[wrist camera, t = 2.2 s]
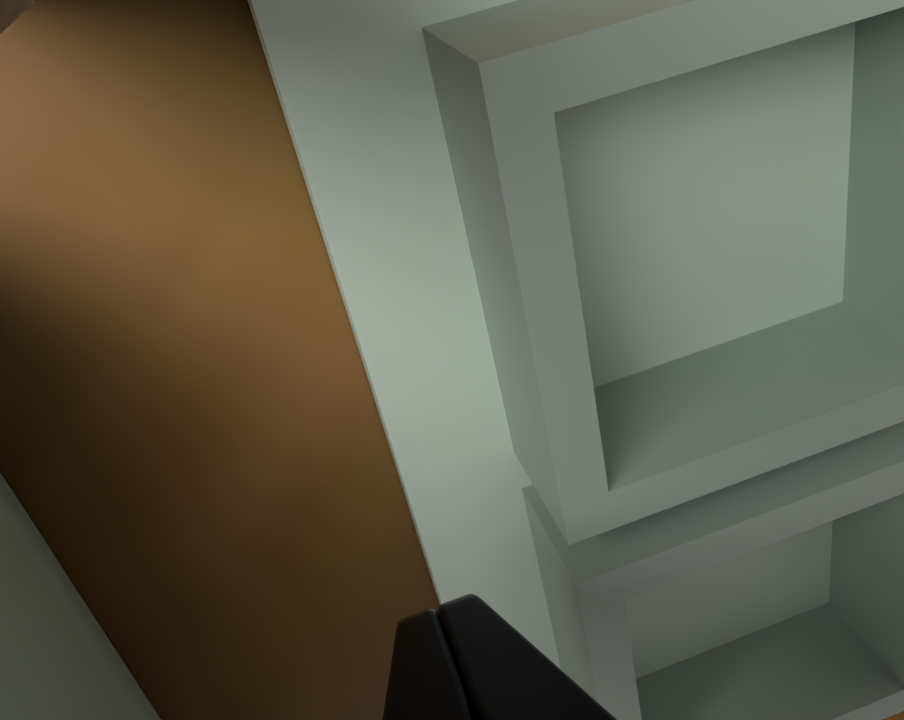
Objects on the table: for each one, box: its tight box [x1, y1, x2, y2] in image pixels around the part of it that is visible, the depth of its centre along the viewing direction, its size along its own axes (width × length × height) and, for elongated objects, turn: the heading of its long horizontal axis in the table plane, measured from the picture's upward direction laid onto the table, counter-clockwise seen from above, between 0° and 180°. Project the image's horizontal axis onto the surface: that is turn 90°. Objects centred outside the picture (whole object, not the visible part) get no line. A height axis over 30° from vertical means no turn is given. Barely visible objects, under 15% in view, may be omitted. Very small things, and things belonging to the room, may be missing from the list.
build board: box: [248, 0, 904, 720], centre depth 12 cm, size 14×9×3 cm, turn 12°
